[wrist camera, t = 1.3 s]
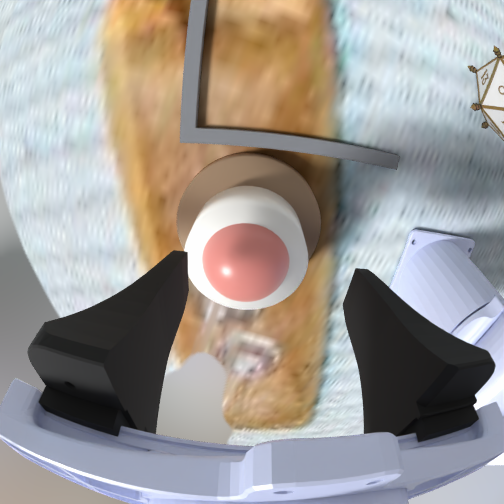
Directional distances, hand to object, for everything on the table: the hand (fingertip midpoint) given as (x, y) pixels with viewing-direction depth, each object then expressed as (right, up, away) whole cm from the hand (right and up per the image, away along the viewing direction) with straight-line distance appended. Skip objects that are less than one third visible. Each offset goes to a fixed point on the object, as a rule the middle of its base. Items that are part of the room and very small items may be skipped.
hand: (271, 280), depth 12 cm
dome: (-1, +2, +7) cm, 7 cm away
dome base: (-1, +3, +9) cm, 10 cm away
